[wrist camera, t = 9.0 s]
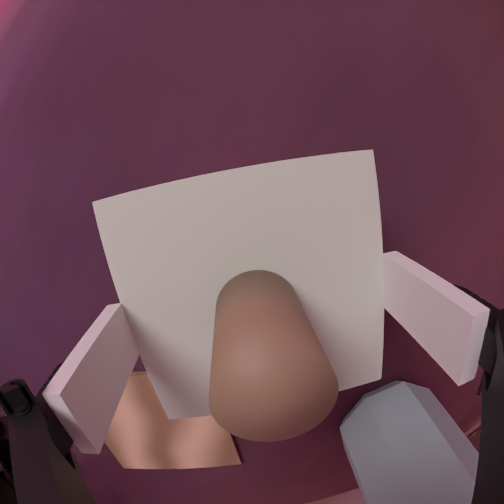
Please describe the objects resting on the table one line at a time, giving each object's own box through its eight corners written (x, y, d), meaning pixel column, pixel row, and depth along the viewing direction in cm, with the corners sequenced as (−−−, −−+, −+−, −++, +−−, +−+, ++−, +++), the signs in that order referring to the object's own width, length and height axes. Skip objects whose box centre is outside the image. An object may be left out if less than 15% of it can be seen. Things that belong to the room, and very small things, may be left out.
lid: (171, 405, 16) (152, 506, 9) (102, 198, 13) (4, 233, 6) (373, 367, 17) (428, 454, 10) (361, 150, 13) (465, 146, 6)
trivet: (124, 464, 26) (123, 468, 26) (68, 375, 22) (66, 378, 22) (241, 460, 26) (241, 463, 26) (207, 363, 23) (207, 367, 22)
